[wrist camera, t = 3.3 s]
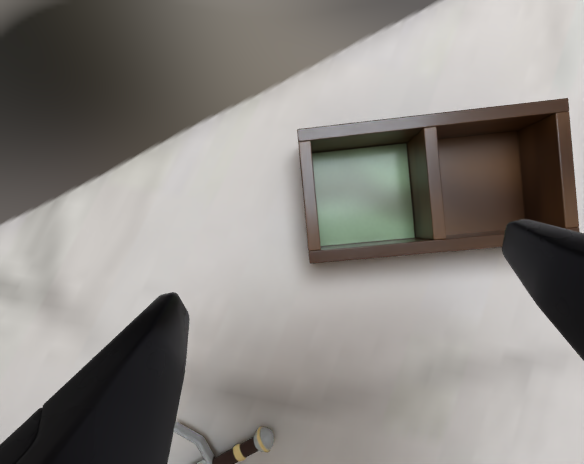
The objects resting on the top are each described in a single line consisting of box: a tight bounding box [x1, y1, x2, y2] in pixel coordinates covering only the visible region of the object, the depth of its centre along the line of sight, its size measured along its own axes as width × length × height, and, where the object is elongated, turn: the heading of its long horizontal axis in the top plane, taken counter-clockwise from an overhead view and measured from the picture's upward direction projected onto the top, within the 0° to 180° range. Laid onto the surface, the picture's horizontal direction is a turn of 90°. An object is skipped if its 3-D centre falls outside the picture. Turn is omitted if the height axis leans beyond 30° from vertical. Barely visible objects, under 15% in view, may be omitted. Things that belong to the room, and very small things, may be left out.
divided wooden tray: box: [297, 98, 579, 263], centre depth 21 cm, size 9×16×4 cm, turn 95°
